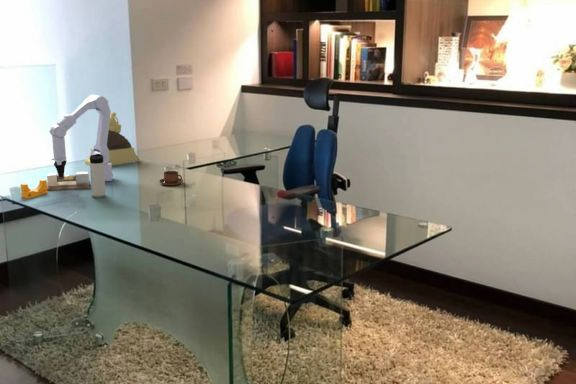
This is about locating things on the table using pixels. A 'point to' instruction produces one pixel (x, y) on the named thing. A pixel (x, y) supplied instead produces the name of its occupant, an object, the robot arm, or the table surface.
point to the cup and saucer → (171, 178)
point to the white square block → (52, 179)
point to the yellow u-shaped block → (36, 192)
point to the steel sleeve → (82, 178)
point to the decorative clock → (117, 145)
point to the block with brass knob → (66, 178)
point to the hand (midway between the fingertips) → (61, 175)
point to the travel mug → (97, 176)
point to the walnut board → (67, 186)
